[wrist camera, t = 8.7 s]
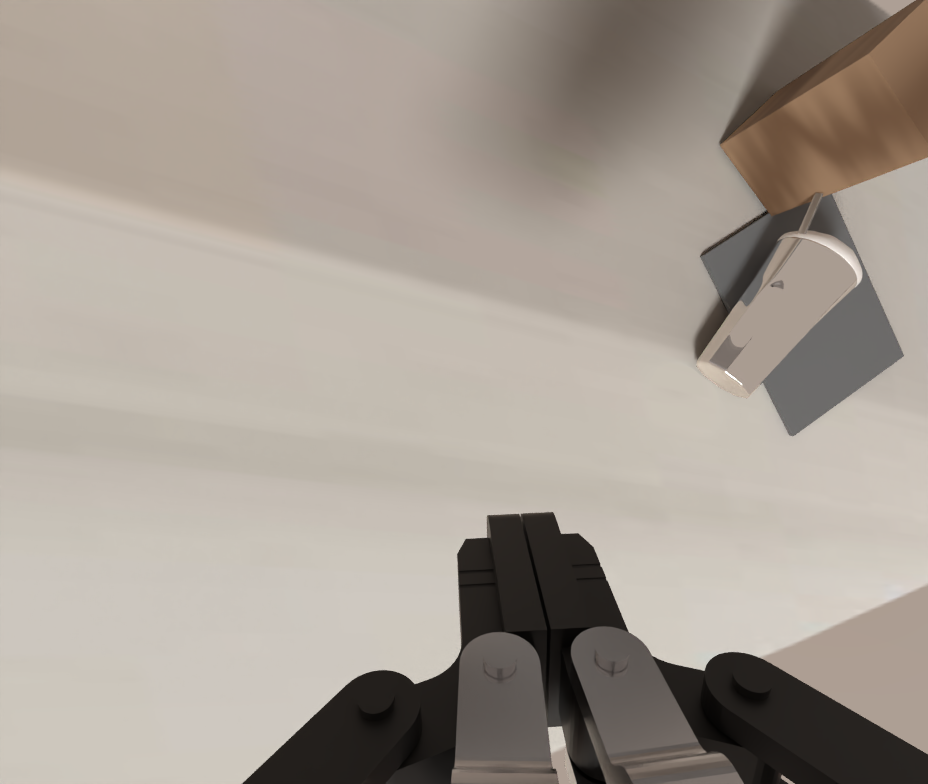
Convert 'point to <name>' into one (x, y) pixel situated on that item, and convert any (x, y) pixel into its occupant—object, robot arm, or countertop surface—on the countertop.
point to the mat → (832, 341)
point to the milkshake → (780, 307)
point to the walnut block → (841, 118)
